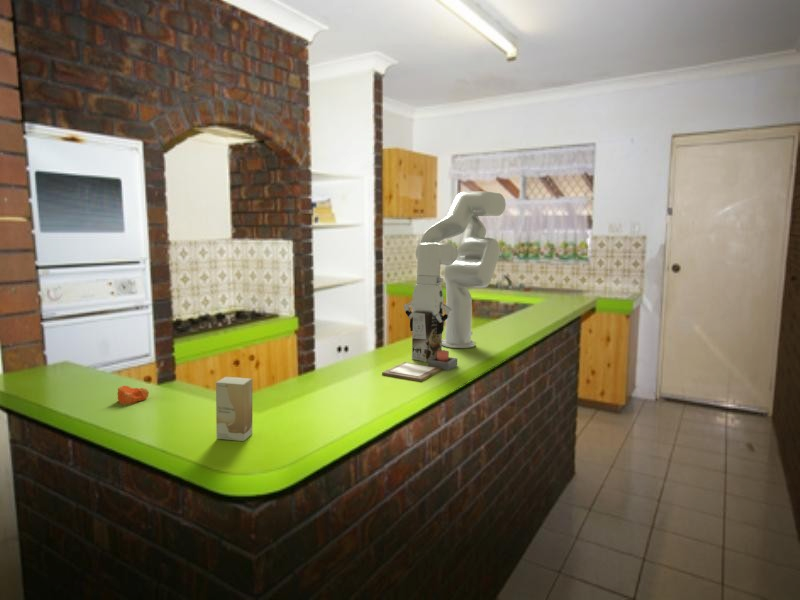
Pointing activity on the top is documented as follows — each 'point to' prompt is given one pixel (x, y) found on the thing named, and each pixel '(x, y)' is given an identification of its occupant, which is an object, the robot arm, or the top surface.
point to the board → (412, 371)
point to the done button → (443, 355)
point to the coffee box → (425, 337)
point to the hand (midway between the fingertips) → (426, 332)
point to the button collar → (443, 363)
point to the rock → (131, 395)
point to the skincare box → (234, 408)
